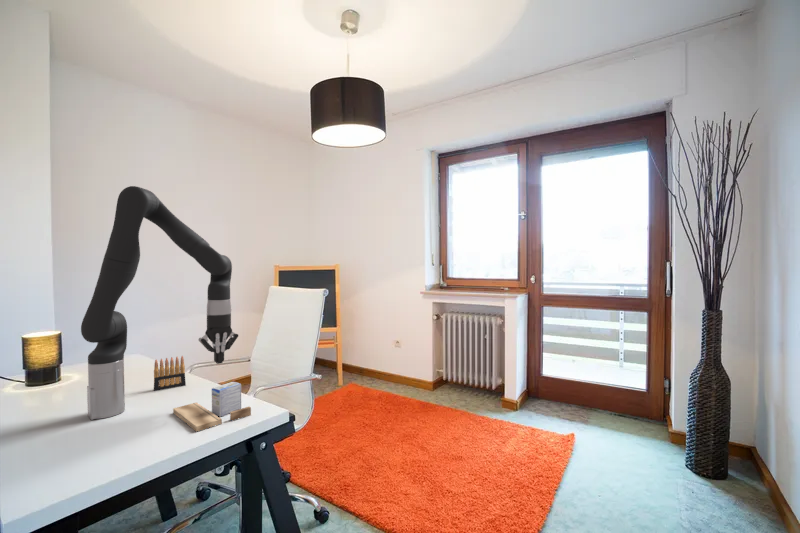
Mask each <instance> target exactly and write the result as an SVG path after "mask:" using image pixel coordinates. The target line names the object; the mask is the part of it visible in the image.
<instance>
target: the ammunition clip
mask: <svg viewBox="0 0 800 533" xmlns="http://www.w3.org/2000/svg"><path fill="white" fill-rule="evenodd" d="M179 360H180V361H179ZM153 366H154V370H153V392H156V391H162V390H168V389H174V388H180V387H184V386H185V387H186V385H187V384H186V370H185V367H186V366H185V359H184V356H183V355H181V358H180V359H179V357H178V356H176V357H175V362H174V357H172V356H171V358H170V362H169V358H168V357H166V358H165V361H163V359H162V358H160V360H159V362H158V359H156V358H155V361H154V365H153Z"/></svg>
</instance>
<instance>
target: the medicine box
mask: <svg viewBox="0 0 800 533" xmlns="http://www.w3.org/2000/svg"><path fill="white" fill-rule="evenodd" d="M239 409H242V383H239V382H237V381H231V382H228V383H223V384H220V385H218V386H215V387H212V388H211V412H212V413H213V414H215V415H216V416H219V418H221V416H222V417H223V416H227V415H230V412H232V411H235V410H239Z"/></svg>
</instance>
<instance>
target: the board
mask: <svg viewBox="0 0 800 533" xmlns="http://www.w3.org/2000/svg"><path fill="white" fill-rule="evenodd" d="M172 410H173V412H172V413H173V414H174V416H176V417H177V418H179V419H180V420H181V419H182V421H183V422H184V423H185V424H186V423H187V424H186V425H187V426H189V427H190V428H191V429H192V430H194V431H195V432H197V431H198V432H201V431H203V429H204V430H207V429H210V428H209V427H211V428H213V427H212V426H214V427H216V426H215V425H217V426H219V425H218V424H220V425H222V424H223V422H222V420H223V418H221V417H218V416H216V415H215V414H213V413H212V411H210V410H208V409H207V408H206V407H204V406H203V405H201V404H199V403H198V402H193V403H189V404H185V405H182V406H177V407H174V408H172ZM206 428H207V429H206ZM200 430H201V431H200ZM198 432H197V433H198Z"/></svg>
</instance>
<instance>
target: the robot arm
mask: <svg viewBox="0 0 800 533" xmlns="http://www.w3.org/2000/svg"><path fill="white" fill-rule="evenodd" d="M144 219H146V220H147V221H150V222H151V223H153V224H155V225H156V226H157V227H159V229H161V230H162V231H163V232H164V233H165V234H166V235H167V236H168V237H169V238H170V240H171V241H172V242H173V243H174V244H175V245H176V246H177V247H178V248H179V249H181V250H182V251H183V252H185V253H186V254H187V255H188V256H190V257H191V258H193V259H194V260H195V261H196V262H197V263H198V264H199V265H200V266H201V267H202V268H203V269H204V270H205V271H206V272H208V273H209V274H210V282H209V283H208V284H207V303H206V331H205V333H204V335H203V336H202V337H199V338H198V342H200V344H201V345H202V346H203V347H204V348H205V349H206V350H207V351H209V352H210V353H213V362H214V363H216V364H218V365H219V364H223V362H224V360H225V351H228V350H230V349H231V347H232V346H233V345H234V343H235V341H236V340H237V339H238V337H239V334H238V333H235V332H234V331H233V329H232V304H231V279H232V274H233V272H232V271H233V264H232V261H231V259H230V257H228V256H226V255H223V254H221V253H220V252H218V251H217V250H216V249H214V248H213V247H212V246H210V243H209V242H208V241H206V239H204V238H203V237H202V236H201V235H199V234H198V233H197V232H196V231H195V230H194V229H192V228H190V227H189V226H188V225H186V224H185V222H183V221H182V220H180V218H178V217H177V216H176V215H175V214H174V213H172V211H171V210H170V209H169V208H167V206H166V205H165V204H164V203H163V202H162V200H160V199H159V197H157V195H156V194H155V193H154V192H153V191H151V190H148V189H146V188H143V187H140V186H136V185H135V186H134V185H132V186H131V185H130V186H127V187H125V188H124V189H122V190H121V191H120V193H119V194H118V198H117V201H116V206H115V215H114V220H113V221H114V222H113V226H112V229H111V233H110V235H109V236H110V237H109V238H108V244H107V247H106V250H105V253H104V256H103V260H102V264H101V267H100V271H99V275H98V279H97V282H96V284H95V287H94V292H93V294H92V297H91V300H90V301H89V302H90V303H89V305H88V306H87V307H88V308H87V309H86V312H85V314H84V317H83V319H82V321H81V326H80V333H81V336H82V338H83V339H84V340H85V341H86V342H88V343H91V344H94V343H97V344H96V346H95V348H94V349H93V350H92V351H91V352H89V354H88V356H87V372H88V373H87V378H88V379H87V381H88V384H87V387H86V389H87V391H86V392H87V393H86V394H87V395H86V396H87V399H86V400H87V402H86V403H87V416H88V418H89V420H92V421H93V420H97V419H106V418H111V417H115V416H117V415H120V414H121V413H123V412H125V411H126V409H125V408H126V402H125V400H126V398H125V397H126V396H125V395H126V394H125V362H124V361H125V360H124V359H125V357H124V356H125V353H126V350H127V345H128V323H127V320H126V317H125V315H124V314H123V313H121V312H119V311H117V310H115V309H116V306H117V303H118V301H119V299H120V298H121V296H122V295H124V294H123V293H124V292H126V290H127V288H129V286H130V285H131V283H132V282H133V280H134V278H135V277H136V274H137V271H138V267H139V262H140V259H141V246H140V238H139V237H140V236H139V235H140V229H141V226H142V224H143V223H142V222H143V220H144ZM209 340H210V342H211V344H210V343H209Z"/></svg>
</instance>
